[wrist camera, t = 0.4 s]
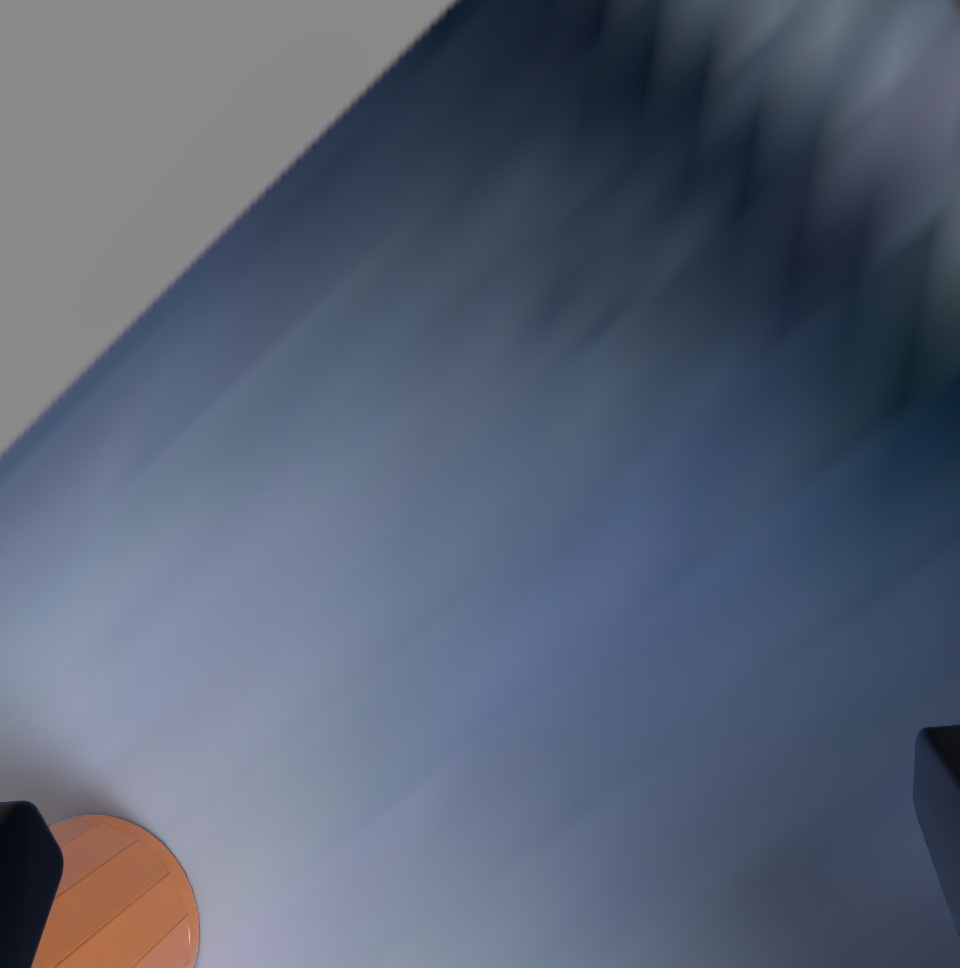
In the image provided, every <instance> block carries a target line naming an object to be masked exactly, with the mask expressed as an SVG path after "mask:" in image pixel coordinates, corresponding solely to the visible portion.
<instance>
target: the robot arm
mask: <svg viewBox="0 0 960 968" xmlns="http://www.w3.org/2000/svg"><path fill="white" fill-rule="evenodd" d="M913 800H914V806H915V811H916V815H917V818H918V821H919V824H920V827H921V830H922V833H923V836H924V839H925V841H926V844H927V847H928V850H929V853H930V856H931V858H932V861H933V864H934V867H935V870H936V873H937V876H938V878H939V881H940V884H941V887H942V890H943V893H944V895H945V898H946V901H947V904H948V907H949V910H950V913H951V915H952V918H953V921H954V924H955V927H956V930H957V932H958V935H959V938H960V725H952V726H939V727H927V728H924V729H921V730H920V731H919V733H918V735H917V738H916V745H915V763H914V781H913ZM63 868H64V857H63V853H62V850H61V848H60V846H59V844H58V843H57V841H56V839H55V838H54V836H53V834H52V832H51V831H50V829H49V827H48V825H47V824H46V822H45V820H44V819H43V817H42V815H41V813H40V812H39V810H38V809H37V807H36V806H35V805H34V804H32V803H31V802H29V801H10V802H0V968H31V967H32V964H33V961H34V958H35V955H36V952H37V949H38V946H39V943H40V940H41V937H42V934H43V931H44V928H45V926H46V923H47V920H48V917H49V914H50V911H51V908H52V905H53V902H54V899H55V896H56V893H57V890H58V887H59V884H60V881H61V878H62V874H63Z"/></svg>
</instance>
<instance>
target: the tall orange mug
mask: <svg viewBox="0 0 960 968" xmlns="http://www.w3.org/2000/svg"><path fill="white" fill-rule="evenodd" d="M49 829H50V831H51V832H52V834H53V836H54V838H55V839H56V841H57V843H58V844H59V846H60V848H61V850H62V853H63V857H64V868H63V874H62V878H61V881H60V884H59V887H58V890H57V893H56V896H55V899H54V902H53V905H52V908H51V911H50V914H49V917H48V920H47V923H46V926H45V928H44V931H43V934H42V937H41V940H40V943H39V946H38V949H37V952H36V955H35V958H34V961H33V964H32V967H31V968H194V966H195V963H196V959H197V954H198V947H199V933H200V925H199V916H198V909H197V905H196V900H195V896H194V893H193V891H192V888H191V885H190V882H189V880H188V878H187V876H186V874H185V872H184V870H183V869H182V867H181V866H180V864H179V863H178V861H177V860H176V858H175V857H174V856H173V854H172V853H171V852H170V851H169V850H168V848H167V847H166V846H165V845H164V844H163V843H161V842H160V841H159V840H158V839H157V838H156V837H155V836H153V835H152V834H151V833H149V832H148V831H146V830H145V829H143V828H141V827H139V826H137V825H136V824H134V823H132V822H129V821H126V820H123V819H121V818H117V817H112V816H107V815H94V814H91V815H79V816H75V817H70V818H66V819H64V820H61V821H59V822H56V823H54V824H52V825H50V826H49Z"/></svg>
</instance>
